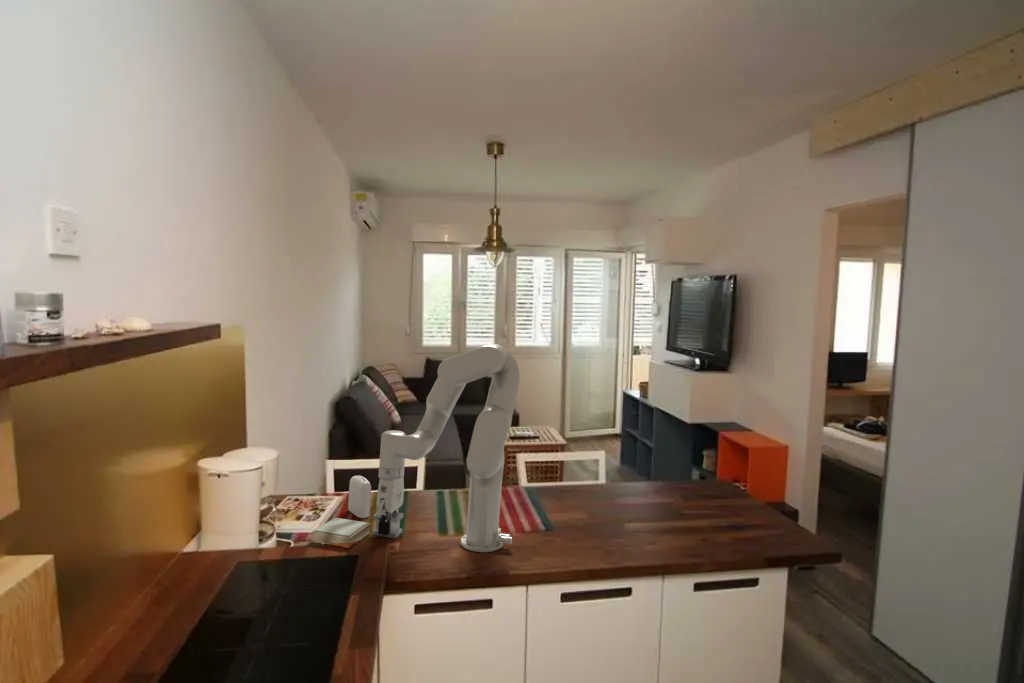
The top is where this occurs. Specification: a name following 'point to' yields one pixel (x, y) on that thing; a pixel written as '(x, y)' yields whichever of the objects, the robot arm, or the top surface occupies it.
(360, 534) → the pale green flat tray
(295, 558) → the top surface
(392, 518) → the steel housing
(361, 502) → the photo printer
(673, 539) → the top surface
